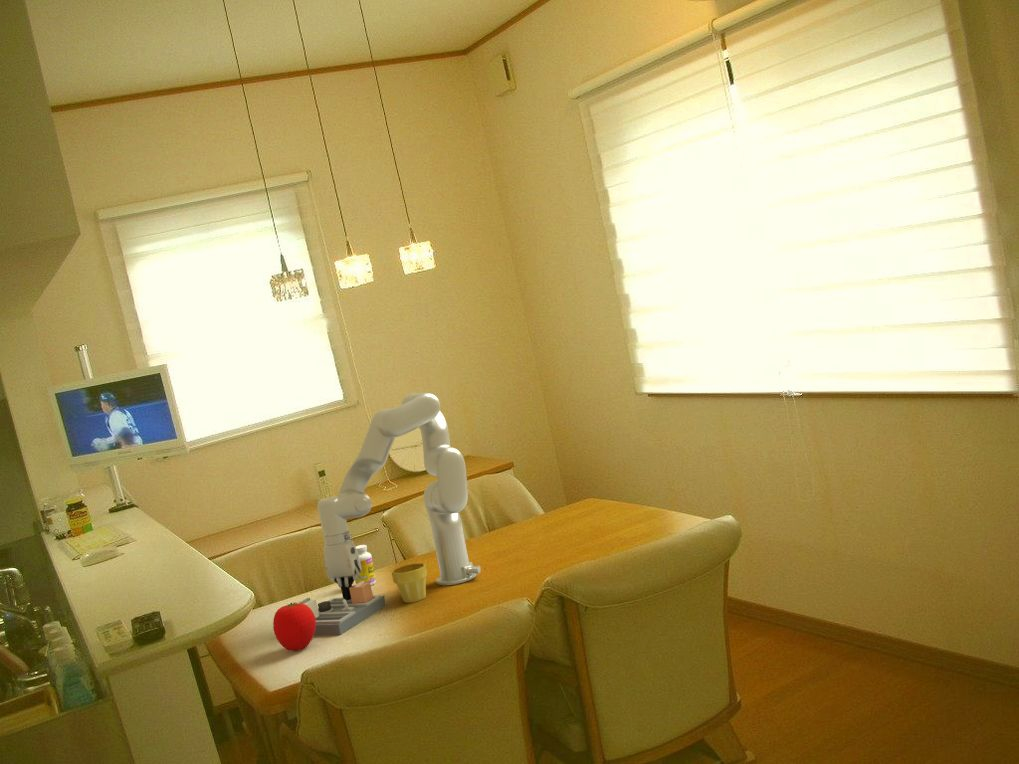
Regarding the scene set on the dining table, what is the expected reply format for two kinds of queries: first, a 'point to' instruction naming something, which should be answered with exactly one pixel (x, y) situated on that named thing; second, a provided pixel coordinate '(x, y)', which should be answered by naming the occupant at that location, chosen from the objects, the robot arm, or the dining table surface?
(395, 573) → the plant pot
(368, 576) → the supplement bottle
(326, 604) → the black button
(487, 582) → the dining table surface
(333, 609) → the grey slotted tray
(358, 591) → the salmon pink block
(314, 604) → the cream slider
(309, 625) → the tomato
